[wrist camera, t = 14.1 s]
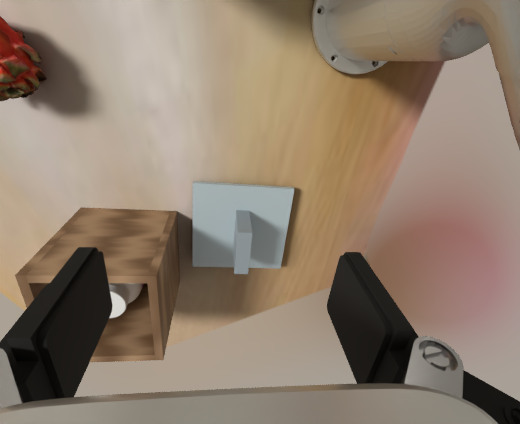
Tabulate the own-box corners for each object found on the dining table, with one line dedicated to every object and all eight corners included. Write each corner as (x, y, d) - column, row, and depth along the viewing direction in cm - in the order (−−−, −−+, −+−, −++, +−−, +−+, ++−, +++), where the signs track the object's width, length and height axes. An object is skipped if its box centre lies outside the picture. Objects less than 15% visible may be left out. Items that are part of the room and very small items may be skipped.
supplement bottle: (161, 259, 49) (142, 318, 38) (122, 267, 49) (92, 329, 38) (147, 226, 46) (121, 280, 35) (106, 234, 46) (67, 291, 35)
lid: (291, 183, 46) (304, 208, 38) (278, 260, 52) (287, 295, 45) (194, 177, 44) (187, 202, 36) (193, 258, 50) (188, 294, 43)
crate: (177, 211, 45) (156, 276, 32) (179, 280, 52) (163, 359, 38) (81, 207, 44) (15, 275, 30) (95, 280, 50) (47, 363, 36)
